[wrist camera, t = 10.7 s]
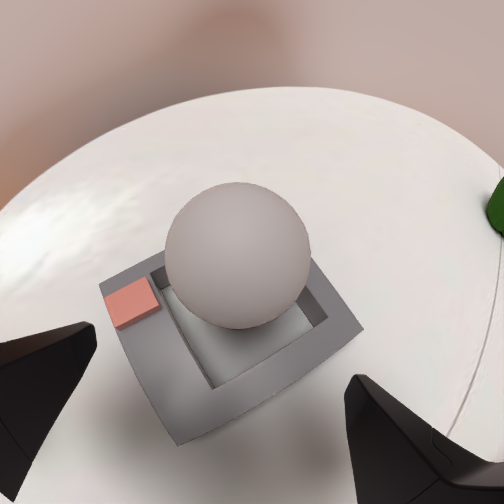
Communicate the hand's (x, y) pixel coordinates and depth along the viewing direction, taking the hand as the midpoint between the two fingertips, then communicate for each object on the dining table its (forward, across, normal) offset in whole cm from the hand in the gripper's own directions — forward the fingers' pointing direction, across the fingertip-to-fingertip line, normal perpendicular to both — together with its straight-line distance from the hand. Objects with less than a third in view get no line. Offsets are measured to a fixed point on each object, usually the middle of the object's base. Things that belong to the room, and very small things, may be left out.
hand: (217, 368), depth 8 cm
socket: (+9, 0, +4) cm, 10 cm away
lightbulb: (+10, 0, +3) cm, 10 cm away
